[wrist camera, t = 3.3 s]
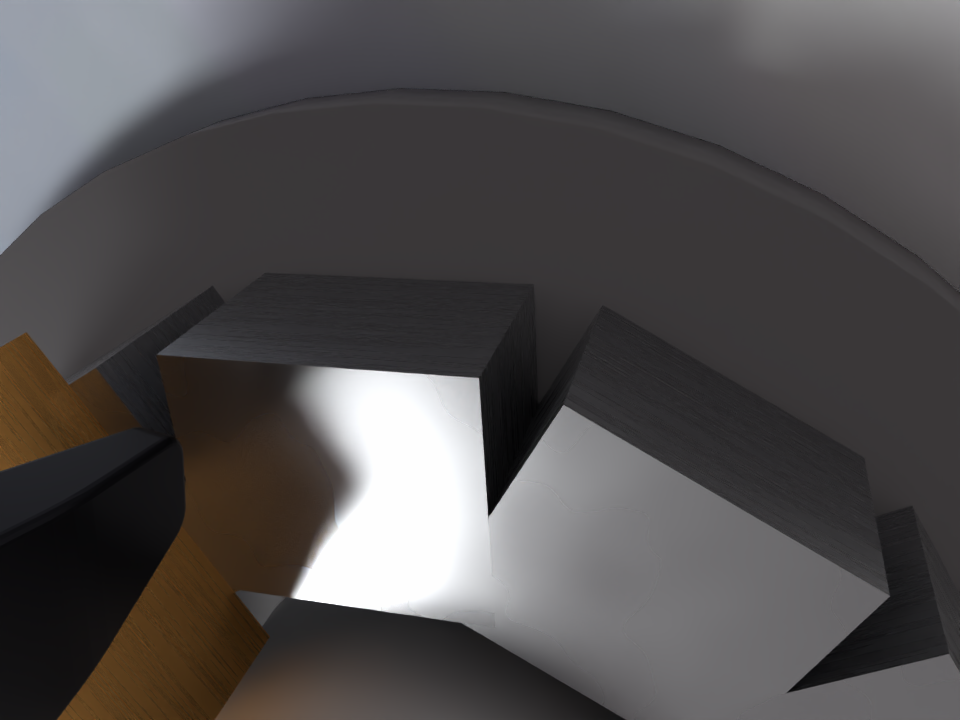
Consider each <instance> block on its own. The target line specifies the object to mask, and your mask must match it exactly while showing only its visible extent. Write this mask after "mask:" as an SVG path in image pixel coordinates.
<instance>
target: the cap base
mask: <svg viewBox="0 0 960 720" xmlns="http://www.w3.org/2000/svg"><path fill="white" fill-rule="evenodd" d="M264 273H289V274H312V275H334V276H357V277H380V278H403V279H425V280H448V281H471V282H494V283H516V284H534V293H535V321H536V350H537V378H538V404H539V403H540V401H541V400H542V398H543V397H544V395H545V393H546V392H547V390H548V389H549V387H550V386H551V384H552V383H553V381H554V379H555V378H556V376H557V375H558V373H559V372H560V370H561V369H562V367H563V365H564V364H565V362H566V361H567V359H568V358H569V356H570V355H571V353H572V351H573V350H574V348H575V347H576V345H577V344H578V342H579V341H580V339H581V337H582V336H583V334H584V333H585V331H586V330H587V328H588V327H589V325H590V323H591V322H592V320H593V319H594V317H595V316H596V314H597V313H598V311H599V309H600V308H601V306H602V305H604V306H606V307H608V308H609V309H611V310H613V311H614V312H616V313H618V314H620V315H621V316H623V317H625V318H626V319H628V320H630V321H632V322H633V323H635V324H637V325H638V326H640V327H642V328H643V329H645V330H647V331H649V332H650V333H652V334H654V335H655V336H657V337H659V338H661V339H662V340H664V341H666V342H667V343H669V344H671V345H673V346H674V347H676V348H678V349H679V350H681V351H683V352H685V353H686V354H688V355H690V356H691V357H693V358H695V359H697V360H698V361H700V362H702V363H703V364H705V365H707V366H709V367H710V368H712V369H714V370H715V371H717V372H719V373H721V374H722V375H724V376H726V377H727V378H729V379H731V380H733V381H734V382H736V383H738V384H739V385H741V386H743V387H745V388H746V389H748V390H750V391H751V392H753V393H755V394H756V395H758V396H760V397H762V398H763V399H765V400H767V401H768V402H770V403H772V404H774V405H775V406H777V407H779V408H780V409H782V410H784V411H786V412H787V413H789V414H791V415H792V416H794V417H796V418H798V419H799V420H801V421H803V422H804V423H806V424H808V425H810V426H811V427H813V428H815V429H816V430H818V431H820V432H822V433H823V434H825V435H827V436H828V437H830V438H832V439H834V440H835V441H837V442H839V443H840V444H842V445H844V446H846V447H847V448H849V449H851V450H852V451H854V452H856V453H858V454H859V455H861V456H863V457H864V459H865V464H866V470H867V475H868V480H869V486H870V491H871V497H872V502H873V507H874V513H875V517H876V516H879V515H882V514H885V513H889V512H892V511H895V510H898V509H901V508H904V507H908V506H911V505H912V506H913V508H914V510H915V511H916V513H917V515H918V517H919V519H920V521H921V523H922V524H923V526H924V528H925V530H926V532H927V534H928V536H929V537H930V539H931V541H932V543H933V545H934V547H935V549H936V550H937V552H938V554H939V556H940V558H941V560H942V562H943V563H944V565H945V567H946V569H947V571H948V573H949V575H950V576H951V578H952V580H953V582H954V584H955V586H956V588H957V589H958V591H959V593H960V293H959V292H958V291H957V290H956V289H955V288H953V287H952V286H951V285H950V284H949V283H948V282H947V281H945V280H944V279H943V278H942V277H941V276H940V275H939V274H937V273H936V272H935V271H934V270H933V269H932V268H931V267H929V266H928V265H927V264H926V263H925V262H924V261H922V260H921V259H920V258H919V257H918V256H917V255H915V254H913V253H912V252H910V251H909V250H907V249H906V248H904V247H903V246H901V245H900V244H898V243H897V242H895V241H893V240H892V239H890V238H889V237H887V236H886V235H884V234H883V233H881V232H880V231H878V230H877V229H875V228H873V227H872V226H870V225H869V224H867V223H866V222H864V221H863V220H861V219H860V218H858V217H857V216H855V215H853V214H852V213H850V212H849V211H847V210H846V209H844V208H843V207H841V206H840V205H838V204H836V203H835V202H833V201H832V200H830V199H829V198H827V197H826V196H824V195H823V194H821V193H818V192H816V191H814V190H812V189H810V188H808V187H806V186H804V185H802V184H799V183H797V182H795V181H793V180H791V179H789V178H787V177H785V176H783V175H780V174H778V173H776V172H774V171H772V170H770V169H768V168H766V167H763V166H761V165H759V164H757V163H755V162H753V161H751V160H749V159H747V158H744V157H742V156H740V155H738V154H736V153H734V152H732V151H730V150H728V149H725V148H723V147H721V146H719V145H716V144H713V143H710V142H706V141H703V140H700V139H697V138H694V137H691V136H688V135H685V134H681V133H678V132H675V131H672V130H669V129H666V128H663V127H659V126H656V125H653V124H650V123H647V122H644V121H641V120H638V119H634V118H631V117H628V116H625V115H622V114H619V113H616V112H612V111H608V110H602V109H596V108H591V107H585V106H579V105H574V104H568V103H562V102H557V101H551V100H546V99H540V98H534V97H529V96H523V95H517V94H512V93H506V92H486V91H460V90H433V89H407V88H400V89H390V90H381V91H371V92H362V93H352V94H343V95H334V96H324V97H315V98H306V99H302V100H298V101H295V102H291V103H287V104H283V105H279V106H276V107H272V108H268V109H264V110H261V111H257V112H253V113H249V114H245V115H242V116H238V117H234V118H230V119H226V120H223V121H220V122H217V123H215V124H212V125H210V126H208V127H205V128H203V129H200V130H198V131H195V132H193V133H191V134H188V135H186V136H183V137H181V138H178V139H176V140H174V141H172V142H170V143H167V144H165V145H163V146H161V147H158V148H156V149H154V150H152V151H149V152H147V153H145V154H143V155H141V156H138V157H136V158H134V159H132V160H129V161H127V162H125V163H123V164H120V165H118V166H116V167H114V168H111V169H109V170H107V171H105V172H103V173H101V174H100V175H99V176H97V177H96V178H94V179H93V180H91V181H90V182H88V183H87V184H85V185H84V186H82V187H81V188H79V189H78V190H77V191H75V192H74V193H72V194H71V195H69V196H68V197H66V198H65V199H63V200H62V201H60V202H59V203H57V204H56V205H54V206H53V207H52V208H50V209H49V210H47V211H46V212H44V213H43V214H41V215H40V216H39V217H38V218H37V219H36V220H35V221H34V222H33V223H32V224H31V225H30V226H29V227H28V228H27V229H26V230H25V231H24V232H23V233H22V234H21V235H20V236H19V237H18V238H17V239H16V240H15V241H14V242H13V243H12V244H11V245H10V246H9V247H8V248H7V249H6V250H5V251H4V252H3V253H2V254H1V255H0V347H2V346H4V345H5V344H7V343H9V342H10V341H12V340H14V339H15V338H17V337H19V336H21V335H22V334H24V333H26V332H27V333H28V335H29V336H30V337H31V338H32V340H33V341H34V342H35V343H36V345H37V346H38V347H39V348H40V350H41V351H42V352H43V353H44V355H45V356H46V357H47V358H48V360H49V361H50V362H51V363H52V365H53V366H54V367H55V368H56V370H57V371H58V372H59V373H60V375H61V376H62V377H63V378H64V380H65V379H67V378H69V377H70V376H72V375H73V374H75V373H76V372H78V371H80V370H81V369H83V368H84V367H86V366H87V365H89V364H91V363H92V362H94V361H95V360H97V359H98V358H100V357H101V356H103V355H105V354H106V353H108V352H109V351H111V350H112V349H114V348H116V347H117V346H119V345H120V344H122V343H123V342H125V341H127V340H128V339H130V338H131V337H133V336H134V335H136V334H138V333H139V332H141V331H142V330H144V329H145V328H147V327H149V326H150V325H152V324H153V323H155V322H156V321H158V320H160V319H161V318H163V317H164V316H166V315H167V314H169V313H171V312H172V311H174V310H175V309H177V308H178V307H180V306H181V305H183V304H185V303H186V302H188V301H189V300H191V299H192V298H194V297H196V296H197V295H199V294H200V293H202V292H203V291H205V290H207V289H208V288H210V287H211V286H214V288H215V289H216V291H217V292H218V293H219V295H220V296H221V297H222V299H223V300H224V302H225V303H226V302H227V301H228V300H230V299H231V298H232V297H234V296H235V295H236V294H238V293H239V292H240V291H242V290H243V289H244V288H246V287H247V286H248V285H250V284H251V283H252V282H254V281H255V280H256V279H258V278H259V277H260V276H262V275H263V274H264ZM235 593H236V595H237V596H238V597H239V598H240V600H241V601H242V602H243V603H244V605H245V606H246V607H247V608H248V610H249V611H250V612H251V613H252V615H253V616H254V617H255V618H256V620H257V621H258V622H259V623H260V625H261V626H262V627H263V629H264V630H265V631H266V632H267V634H268V635H269V636H270V638H269V639H268V641H267V642H266V644H265V645H264V647H263V648H262V650H261V651H260V653H259V654H258V656H257V657H256V659H255V660H254V662H253V663H252V665H251V666H250V668H249V669H248V671H247V672H246V674H245V675H244V677H243V678H242V680H241V681H240V683H239V684H238V686H237V687H236V689H235V690H234V692H233V693H232V695H231V696H230V698H229V699H228V701H227V702H226V704H225V705H224V707H223V708H222V710H221V711H220V713H219V714H218V716H217V717H216V719H215V720H625V719H624V718H622V717H620V716H619V715H617V714H615V713H614V712H612V711H610V710H608V709H607V708H605V707H603V706H602V705H600V704H598V703H597V702H595V701H593V700H592V699H590V698H588V697H586V696H585V695H583V694H581V693H580V692H578V691H576V690H575V689H573V688H571V687H569V686H568V685H566V684H564V683H563V682H561V681H559V680H558V679H556V678H554V677H553V676H551V675H549V674H547V673H546V672H544V671H542V670H541V669H539V668H537V667H536V666H534V665H532V664H530V663H529V662H527V661H525V660H524V659H522V658H520V657H519V656H517V655H515V654H513V653H512V652H510V651H508V650H507V649H505V648H503V647H502V646H500V645H498V644H497V643H495V642H493V641H491V640H490V639H488V638H486V637H485V636H483V635H481V634H480V633H478V632H476V631H474V630H473V629H471V628H469V627H468V626H466V625H464V624H463V623H459V622H453V621H446V620H439V619H432V618H425V617H419V616H412V615H405V614H398V613H391V612H385V611H378V610H371V609H364V608H357V607H351V606H344V605H337V604H330V603H323V602H317V601H310V600H303V599H296V598H289V597H283V596H276V595H269V594H262V593H255V592H249V591H242V590H239V591H237V592H235Z"/></svg>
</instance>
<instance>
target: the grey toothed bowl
mask: <svg viewBox="0 0 960 720" xmlns="http://www.w3.org/2000/svg"><path fill="white" fill-rule="evenodd" d="M136 427H140V428H146V429H150V430H153V431H157V432H160V433H164V434H167V435H171V436H173V437H175V438H176V439H178V440H179V442H180V444H181V446H182V449H183V458H184V478H185V497H186V511H185V517H184V521H183V524H182V526H181V529H180V531H179V533H178V535H177V536H176V538H175V540H174V541H173V543H172V545H171V546H170V548H169V550H168V551H167V553H166V555H165V556H164V558H163V559H162V561H161V563H160V564H159V566H158V568H157V569H156V571H155V573H154V574H153V576H152V578H151V579H150V581H149V582H148V584H147V586H146V587H145V589H144V591H143V592H142V594H141V596H140V597H139V599H138V600H137V602H136V604H135V605H134V607H133V609H132V610H131V612H130V614H129V615H128V617H127V619H126V620H125V622H124V623H123V625H122V627H121V628H120V630H119V632H118V633H117V635H116V637H115V638H114V640H113V642H112V643H111V645H110V646H109V648H108V650H107V651H106V653H105V654H104V656H103V657H102V659H101V660H100V662H99V663H98V665H97V667H96V668H95V670H94V671H93V672H92V674H91V675H90V676H89V678H88V679H87V681H86V682H85V683H84V685H83V686H82V688H81V689H80V690H79V692H78V693H77V694H76V696H75V697H74V698H73V700H72V701H71V702H70V704H69V705H68V706H67V707H66V709H65V710H64V711H63V713H62V714H61V715H60V717H59V718H58V719H57V720H215V719H216V717H217V716H218V714H219V713H220V711H221V710H222V708H223V707H224V705H225V704H226V702H227V701H228V699H229V698H230V696H231V695H232V693H233V692H234V690H235V689H236V687H237V686H238V684H239V683H240V681H241V680H242V678H243V677H244V675H245V674H246V672H247V671H248V669H249V668H250V666H251V665H252V663H253V662H254V660H255V659H256V657H257V656H258V654H259V653H260V651H261V650H262V648H263V647H264V645H265V644H266V642H267V641H268V639H269V638H270V636H269V635H268V634H267V632H266V631H265V630H264V629H263V627H262V626H261V625H260V623H259V622H258V621H257V620H256V618H255V617H254V616H253V615H252V613H251V612H250V611H249V610H248V608H247V607H246V606H245V605H244V603H243V602H242V601H241V600H240V598H239V597H238V596H237V595H236V593H235V592H237V591H239V590H242V591H249V592H255V593H262V594H269V595H276V596H283V597H289V598H296V599H303V600H310V601H317V602H323V603H330V604H337V605H344V606H351V607H357V608H364V609H371V610H378V611H385V612H391V613H398V614H405V615H412V616H419V617H425V618H432V619H439V620H446V621H453V622H459V623H463V624H464V625H466V626H468V627H469V628H471V629H473V630H474V631H476V632H478V633H480V634H481V635H483V636H485V637H486V638H488V639H490V640H491V641H493V642H495V643H497V644H498V645H500V646H502V647H503V648H505V649H507V650H508V651H510V652H512V653H513V654H515V655H517V656H519V657H520V658H522V659H524V660H525V661H527V662H529V663H530V664H532V665H534V666H536V667H537V668H539V669H541V670H542V671H544V672H546V673H547V674H549V675H551V676H553V677H554V678H556V679H558V680H559V681H561V682H563V683H564V684H566V685H568V686H569V687H571V688H573V689H575V690H576V691H578V692H580V693H581V694H583V695H585V696H586V697H588V698H590V699H592V700H593V701H595V702H597V703H598V704H600V705H602V706H603V707H605V708H607V709H608V710H610V711H612V712H614V713H615V714H617V715H619V716H620V717H622V718H624V719H625V720H960V593H959V591H958V589H957V588H956V586H955V584H954V582H953V580H952V578H951V576H950V575H949V573H948V571H947V569H946V567H945V565H944V563H943V562H942V560H941V558H940V556H939V554H938V552H937V550H936V549H935V547H934V545H933V543H932V541H931V539H930V537H929V536H928V534H927V532H926V530H925V528H924V526H923V524H922V523H921V521H920V519H919V517H918V515H917V513H916V511H915V510H914V508H913V506H912V505H911V506H908V507H904V508H901V509H898V510H895V511H892V512H889V513H885V514H882V515H879V516H876V517H875V513H874V507H873V502H872V497H871V491H870V486H869V480H868V475H867V470H866V464H865V459H864V457H863V456H861V455H859V454H858V453H856V452H854V451H852V450H851V449H849V448H847V447H846V446H844V445H842V444H840V443H839V442H837V441H835V440H834V439H832V438H830V437H828V436H827V435H825V434H823V433H822V432H820V431H818V430H816V429H815V428H813V427H811V426H810V425H808V424H806V423H804V422H803V421H801V420H799V419H798V418H796V417H794V416H792V415H791V414H789V413H787V412H786V411H784V410H782V409H780V408H779V407H777V406H775V405H774V404H772V403H770V402H768V401H767V400H765V399H763V398H762V397H760V396H758V395H756V394H755V393H753V392H751V391H750V390H748V389H746V388H745V387H743V386H741V385H739V384H738V383H736V382H734V381H733V380H731V379H729V378H727V377H726V376H724V375H722V374H721V373H719V372H717V371H715V370H714V369H712V368H710V367H709V366H707V365H705V364H703V363H702V362H700V361H698V360H697V359H695V358H693V357H691V356H690V355H688V354H686V353H685V352H683V351H681V350H679V349H678V348H676V347H674V346H673V345H671V344H669V343H667V342H666V341H664V340H662V339H661V338H659V337H657V336H655V335H654V334H652V333H650V332H649V331H647V330H645V329H643V328H642V327H640V326H638V325H637V324H635V323H633V322H632V321H630V320H628V319H626V318H625V317H623V316H621V315H620V314H618V313H616V312H614V311H613V310H611V309H609V308H608V307H606V306H604V305H602V306H601V308H600V309H599V311H598V313H597V314H596V316H595V317H594V319H593V320H592V322H591V323H590V325H589V327H588V328H587V330H586V331H585V333H584V334H583V336H582V337H581V339H580V341H579V342H578V344H577V345H576V347H575V348H574V350H573V351H572V353H571V355H570V356H569V358H568V359H567V361H566V362H565V364H564V365H563V367H562V369H561V370H560V372H559V373H558V375H557V376H556V378H555V379H554V381H553V383H552V384H551V386H550V387H549V389H548V390H547V392H546V393H545V395H544V397H543V398H542V400H541V401H540V403H539V404H538V378H537V350H536V321H535V293H534V284H516V283H494V282H471V281H448V280H425V279H403V278H380V277H357V276H334V275H312V274H289V273H264V274H263V275H262V276H260V277H259V278H258V279H256V280H255V281H254V282H252V283H251V284H250V285H248V286H247V287H246V288H244V289H243V290H242V291H240V292H239V293H238V294H236V295H235V296H234V297H232V298H231V299H230V300H228V301H227V302H226V303H225V302H224V300H223V299H222V297H221V296H220V295H219V293H218V292H217V291H216V289H215V288H214V286H211V287H210V288H208V289H207V290H205V291H203V292H202V293H200V294H199V295H197V296H196V297H194V298H192V299H191V300H189V301H188V302H186V303H185V304H183V305H181V306H180V307H178V308H177V309H175V310H174V311H172V312H171V313H169V314H167V315H166V316H164V317H163V318H161V319H160V320H158V321H156V322H155V323H153V324H152V325H150V326H149V327H147V328H145V329H144V330H142V331H141V332H139V333H138V334H136V335H134V336H133V337H131V338H130V339H128V340H127V341H125V342H123V343H122V344H120V345H119V346H117V347H116V348H114V349H112V350H111V351H109V352H108V353H106V354H105V355H103V356H101V357H100V358H98V359H97V360H95V361H94V362H92V363H91V364H89V365H87V366H86V367H84V368H83V369H81V370H80V371H78V372H76V373H75V374H73V375H72V376H70V377H69V378H67V379H65V380H64V378H63V377H62V376H61V375H60V373H59V372H58V371H57V370H56V368H55V367H54V366H53V365H52V363H51V362H50V361H49V360H48V358H47V357H46V356H45V355H44V353H43V352H42V351H41V350H40V348H39V347H38V346H37V345H36V343H35V342H34V341H33V340H32V338H31V337H30V336H29V335H28V333H27V332H26V333H24V334H22V335H21V336H19V337H17V338H15V339H14V340H12V341H10V342H9V343H7V344H5V345H4V346H2V347H0V471H2V470H5V469H9V468H12V467H15V466H18V465H21V464H24V463H27V462H30V461H33V460H36V459H39V458H42V457H45V456H48V455H51V454H54V453H57V452H60V451H63V450H67V449H70V448H73V447H76V446H79V445H82V444H85V443H88V442H91V441H94V440H97V439H100V438H103V437H106V436H109V435H112V434H115V433H118V432H121V431H125V430H128V429H131V428H136Z"/></svg>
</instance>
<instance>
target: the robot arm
mask: <svg viewBox="0 0 960 720" xmlns="http://www.w3.org/2000/svg"><path fill="white" fill-rule="evenodd" d="M185 511H186V497H185V478H184V458H183V449H182V446H181V444H180V442H179V440H178V439H176V438H175V437H173V436H171V435H167V434H164V433H160V432H157V431H153V430H150V429H146V428H140V427H136V428H131V429H128V430H125V431H121V432H118V433H115V434H112V435H109V436H106V437H103V438H100V439H97V440H94V441H91V442H88V443H85V444H82V445H79V446H76V447H73V448H70V449H67V450H63V451H60V452H57V453H54V454H51V455H48V456H45V457H42V458H39V459H36V460H33V461H30V462H27V463H24V464H21V465H18V466H15V467H12V468H9V469H5V470H2V471H0V720H57V719H58V718H59V717H60V715H61V714H62V713H63V711H64V710H65V709H66V707H67V706H68V705H69V704H70V702H71V701H72V700H73V698H74V697H75V696H76V694H77V693H78V692H79V690H80V689H81V688H82V686H83V685H84V683H85V682H86V681H87V679H88V678H89V676H90V675H91V674H92V672H93V671H94V670H95V668H96V667H97V665H98V663H99V662H100V660H101V659H102V657H103V656H104V654H105V653H106V651H107V650H108V648H109V646H110V645H111V643H112V642H113V640H114V638H115V637H116V635H117V633H118V632H119V630H120V628H121V627H122V625H123V623H124V622H125V620H126V619H127V617H128V615H129V614H130V612H131V610H132V609H133V607H134V605H135V604H136V602H137V600H138V599H139V597H140V596H141V594H142V592H143V591H144V589H145V587H146V586H147V584H148V582H149V581H150V579H151V578H152V576H153V574H154V573H155V571H156V569H157V568H158V566H159V564H160V563H161V561H162V559H163V558H164V556H165V555H166V553H167V551H168V550H169V548H170V546H171V545H172V543H173V541H174V540H175V538H176V536H177V535H178V533H179V531H180V529H181V526H182V524H183V521H184V517H185Z"/></svg>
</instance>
